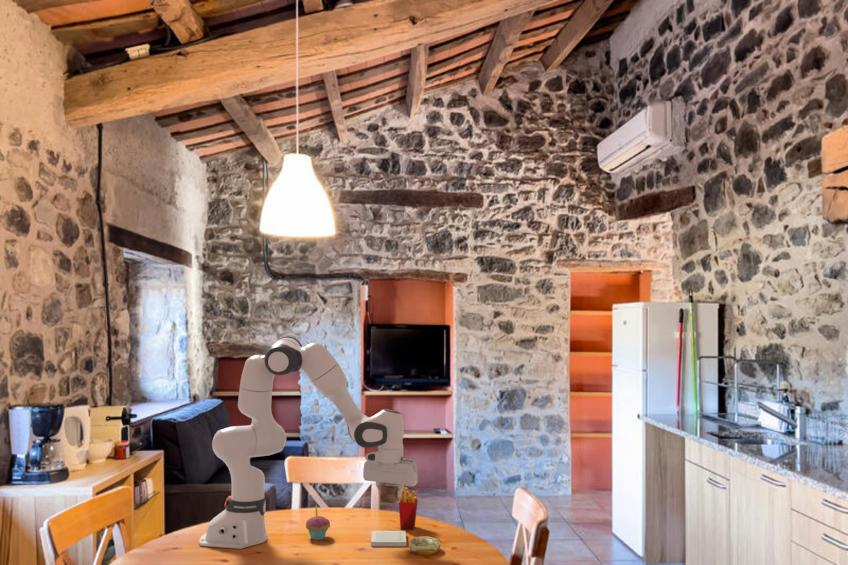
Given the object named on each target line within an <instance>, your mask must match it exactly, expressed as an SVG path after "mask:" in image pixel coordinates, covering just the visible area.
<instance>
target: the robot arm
mask: <svg viewBox="0 0 848 565" xmlns="http://www.w3.org/2000/svg"><path fill="white" fill-rule="evenodd" d="M299 370H300V371H302V372H304V374H305V375H306V376H307V378H308V379H309V381H310V383H312V385H313V386H314V387H315V389H316V390H317V391H318V392H319V393H320V394H321V395H322V396H324V397H325V398H326V399H328V400H329V401H331V403H332V404H333V405H334V406H335V407H336V409H337V410H338V412H339V413H340V415H341V416H342V417H343V419H344V421H345V423H346V426H347V432H348V435H349V438H350V439H351V441H353V442H355V444H357V445H358V446H359V447H361V448H364V449H368V448H369V449H370V448H374V447H377V448H378V449H377V450H374V451H371V452H369V453H366V454H365V457H364V458H365V462H364V463H363V472H362V477H363V479H364V481H367V482H374V483H375V485H376V488H377V490H378V496H380V495H381V487H382V486H383V484H389V485H398V488H399V491H398V492H395V495H396V496H395V497H396V498H400V497H401V492H402V491H403V489H404V487H411V488H412V487H415V486H416V485H417V484H418V482H419V480H418V479H419V478H418V477H419V476H418V462H417V461H416V460H415V459H414V458H412V457H410V458H409V457H404V443H403V439H404V435H405V434H404V430H405V427H404V426H405V425H404V417H403V415H402V413H401V412H400V411H398V410H395V409H390V408H382V409H381V410H380V411H379V412H377V413H376V414H374V415H372V416H368V415H367V414H365V413H363V412H362V411H361V410H360V408H359V407H358V406H357V403H356V402H355V401H354V399H353V398H352V397H351V395H350V392H349V389H348V380H347V377H346V375H345V373H344V371H343V369H342V367H341V365H340V364H339V363H338V361H337V360H336V358H335V357H334V355H332V354H331V352H330V351H329V350H328V349H327V348H326V347H325V346H324V345H323V344H322V343H321V342H320V343H319V342H310V343H308V344H306V345H305V346H303V345H302V343H301V342H300V340H298V339H297V338H296V337H293V336H283V337H281V338H278V340H276V341H274V342H273V343H272V344H271V345H270V346H269V348H268V349H267V350H266V353H265V354H264V355H262V354H255V355H252V356H250V357H248V358H247V359H246V360H245V362H244V366H243V370H242V373H241V376H240V377H241V378H240V384H239V389H238V390H239V392H238V399H237V400H238V401H237V408H238V410H239V412H240V413H241V414H242V415H245V416H246V417H247V418H249V419H251V423H250V424H249V425H235V426H233V425H232V426H228V427H225V428H222V429H219V430H217V431H216V433H214V436H213V438H212V441H211V447H212V451H213V453H214V454H215V455H216V457H217V458H218V459H220V460H221V461H222V462H223V463H224V464H225V465H226V467H227V468H228V471H229V474H230V479H231V480H230V481H231V493H230V494H231V495H228V497H226V499H225V501H224V502H225V503H224V510H222V511H221V512H220V513H219V514H217V515H216V516H214V517H213V518H212V519H211V520H210V522H209V523H208V525H207V528H206V532H205V533H203V534H202V535H201V536H200V537H199V539H198V545H199V546H200V547H201V546H202V547H211V548H212V547H214V548H223V549H224V548H225V549H226V548H227V549H245V548H247V547H252V546H256V545H260V544H262V543H264V542H266V541H267V540H268V535H267V530H266V523H265V522H266V520H265V514H266V505H267V503H266V502H267V501H266V496H265V490H266V489H265V488H266V486H265V485H266V484H265V482H266V476H265V474H264V472H263V471H262V470H261V469H259V468H258V467H255V466H253V465H251V458H257V457H265V456H268V457H269V456H271V455H274V454H277V453H281V452H282V451H283V450H284V448H285V446H286V443H287V434H286V431H285V429H284V428H283V426H281V425H280V424H279V423H278V422H277V421H276V419H275V418H274V416H273V413H272V400H273V399H272V396H273V388H274V379H275V376H285V375H288V374H292V373H296V372H299Z"/></svg>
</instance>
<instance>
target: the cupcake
mask: <svg viewBox="0 0 848 565" xmlns="http://www.w3.org/2000/svg"><path fill="white" fill-rule="evenodd" d="M318 513H319V512H318V506H317V504H315V516H313V517H310V518H308V519H307V521H306V522H305V528H306V529H307V530H308V533H309V537H310V539H312V540H314V541H315V540H316V541H317V540H319V541H320V540H323V539H325V537H326V533H327V531H328V530H329V528H330V527H331V523H330V520H329V519H327V518H326V517H325V516H322V515H321V516H320V515H318Z"/></svg>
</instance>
